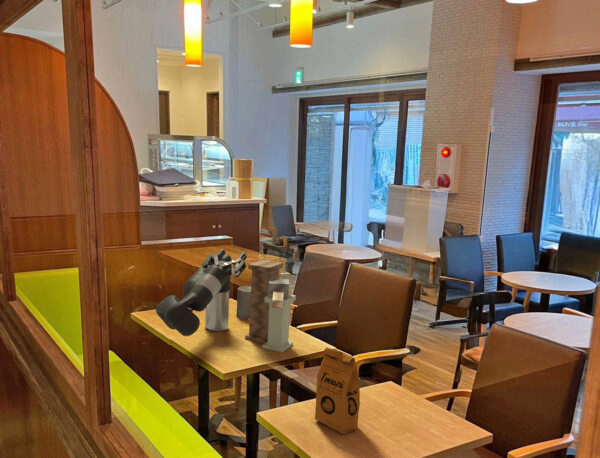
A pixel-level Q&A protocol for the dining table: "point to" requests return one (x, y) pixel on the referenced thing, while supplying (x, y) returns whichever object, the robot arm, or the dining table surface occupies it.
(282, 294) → the mallet
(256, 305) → the tall stand
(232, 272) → the robot arm
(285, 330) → the pale green square pedestal
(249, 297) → the pillar candle
